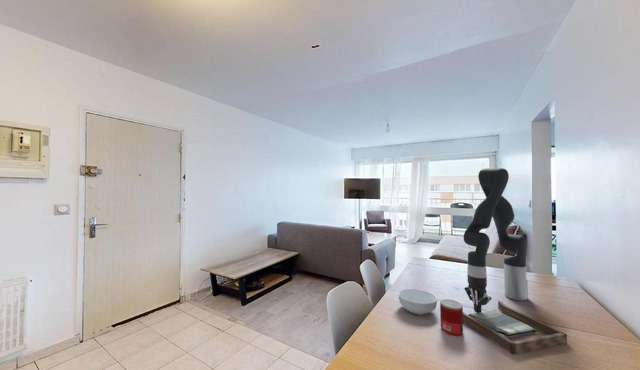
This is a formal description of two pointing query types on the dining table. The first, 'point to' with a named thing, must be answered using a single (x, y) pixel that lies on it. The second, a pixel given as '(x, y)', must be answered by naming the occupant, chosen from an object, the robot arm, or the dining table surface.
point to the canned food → (451, 317)
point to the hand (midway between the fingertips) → (477, 312)
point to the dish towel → (503, 324)
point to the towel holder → (517, 347)
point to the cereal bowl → (417, 301)
